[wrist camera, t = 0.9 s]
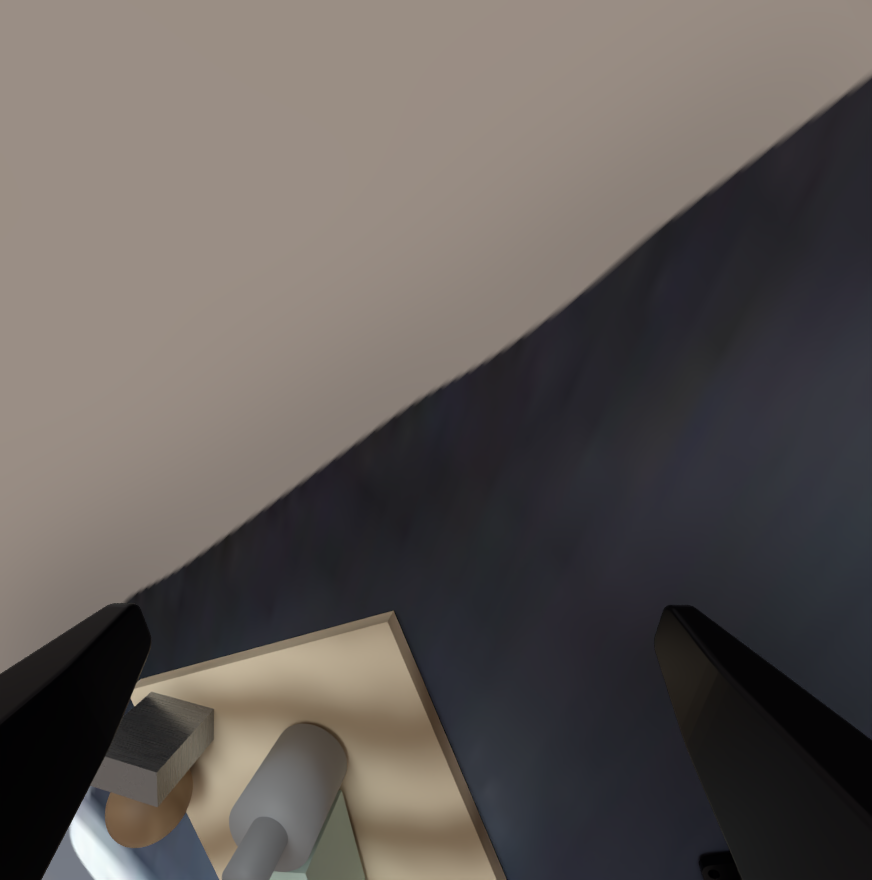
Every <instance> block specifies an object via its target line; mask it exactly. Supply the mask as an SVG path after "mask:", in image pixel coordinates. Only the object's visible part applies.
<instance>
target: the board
mask: <svg viewBox="0 0 872 880" xmlns="http://www.w3.org/2000/svg"><path fill="white" fill-rule="evenodd" d="M150 692H155V693H158V694H162V695H166V696H169V697H173V698H177V699H180V700H184V701H187V702H191V703H195V704H198V705H202V706H206V707H209V708H213V709H214V740H213V741H212V742H211V743H210V745H209V746H208V747H207V748H206V749H205V751H204V752H203V753H202V754H201V755H200V757H199V758H198V759H197V760H196V762H195V763H194V764H193V765H192V766H191V768H190V771H191V774H192V778H193V791H192V797H191V801H190V804H189V806H188V808H187V811H186V812H187V814H188V816H189V818H190V820H191V822H192V824H193V826H194V829H195V831H196V833H197V835H198V837H199V839H200V841H201V843H202V845H203V847H204V849H205V851H206V853H207V855H208V857H209V859H210V861H211V863H212V865H213V867H214V869H215V871H216V873H217V875H218V877H219V879H220V880H222V873H223V871H224V869H225V868H226V866H227V864H228V863H229V861H230V859H231V858H232V856H233V854H234V853H235V851H236V849H237V848H238V846H237V845H236V843H235V841H234V839H233V837H232V835H231V832H230V828H229V816H230V812H231V809H232V808H233V806H234V804H235V803H236V801H237V800H238V798H239V797H240V795H241V794H242V792H243V791H244V789H245V788H246V786H247V785H248V783H249V782H250V780H251V779H252V777H253V776H254V774H255V773H256V771H257V770H258V768H259V767H260V765H261V764H262V762H263V761H264V759H265V758H266V756H267V755H268V753H269V752H270V750H271V748H272V747H273V745H274V744H275V742H276V741H277V739H278V738H279V736H280V735H281V733H282V732H283V731H284V730H285V729H287V728H288V727H290V726H292V725H296V724H311V725H315V726H318V727H320V728H322V729H324V730H326V731H327V732H329V733H330V734H331V735H332V736H333V737H334V738H335V739H336V740H337V741H338V742H339V743H340V745H341V747H342V748H343V750H344V752H345V755H346V759H347V771H346V774H345V777H344V779H343V781H342V783H341V786H340V788H339V790H342V793H343V797H344V801H345V805H346V808H347V812H348V816H349V820H350V823H351V827H352V831H353V835H354V838H355V842H356V846H357V850H358V853H359V857H360V861H361V865H362V868H363V872H364V876H365V880H507V879H506V877H505V874H504V872H503V870H502V867H501V865H500V863H499V860H498V858H497V855H496V853H495V851H494V848H493V846H492V844H491V841H490V839H489V836H488V834H487V832H486V829H485V827H484V825H483V822H482V820H481V817H480V815H479V813H478V810H477V808H476V805H475V803H474V801H473V798H472V796H471V794H470V791H469V789H468V786H467V784H466V782H465V779H464V777H463V775H462V772H461V770H460V767H459V765H458V763H457V760H456V758H455V756H454V753H453V751H452V748H451V746H450V744H449V741H448V739H447V737H446V734H445V732H444V729H443V727H442V725H441V722H440V720H439V717H438V715H437V713H436V710H435V708H434V706H433V703H432V701H431V698H430V696H429V694H428V691H427V689H426V687H425V684H424V682H423V679H422V677H421V675H420V672H419V670H418V668H417V665H416V663H415V660H414V658H413V656H412V653H411V651H410V648H409V646H408V644H407V641H406V639H405V637H404V634H403V632H402V629H401V627H400V625H399V622H398V620H397V618H396V615H395V613H394V611H390V612H387V613H383V614H379V615H376V616H372V617H368V618H364V619H361V620H357V621H353V622H350V623H346V624H342V625H339V626H335V627H331V628H327V629H324V630H320V631H316V632H313V633H309V634H305V635H302V636H298V637H294V638H291V639H287V640H283V641H279V642H276V643H272V644H268V645H265V646H261V647H257V648H254V649H250V650H246V651H243V652H239V653H235V654H231V655H228V656H224V657H220V658H217V659H213V660H209V661H206V662H202V663H198V664H195V665H191V666H187V667H183V668H180V669H176V670H172V671H169V672H165V673H161V674H158V675H154V676H150V677H147V678H143V679H140V680H139V681H138V682H137V683H136V686H135V688H134V691H133V693H132V696H131V700H132V702H133V704H134V706H136V705H137V704H138V703H139V702H140V701H141V700H142V699H144V698H145V697H146V696H147V695H148V694H149V693H150Z"/></svg>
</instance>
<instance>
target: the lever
mask: <svg viewBox="0 0 872 880" xmlns="http://www.w3.org/2000/svg"><path fill="white" fill-rule="evenodd" d="M346 771H347V759H346V755H345V752H344V750H343V748H342V747H341V745H340V743H339V742H338V741H337V740H336V739H335V738H334V737H333V736H332V735H331V734H330V733H329V732H327V731H326V730H324V729H322V728H320V727H318V726H315V725H311V724H296V725H292V726H290V727H288V728H287V729H285V730H284V731H283V732H282V733H281V735H280V736H279V738H278V739H277V741H276V742H275V744H274V745H273V747H272V748H271V750H270V752H269V753H268V755H267V756H266V758H265V759H264V761H263V762H262V764H261V765H260V767H259V768H258V770H257V771H256V773H255V774H254V776H253V777H252V779H251V780H250V782H249V783H248V785H247V786H246V788H245V789H244V791H243V792H242V794H241V795H240V797H239V798H238V800H237V801H236V803H235V804H234V806H233V808H232V809H231V812H230V816H229V828H230V832H231V835H232V837H233V839H234V841H235V843H236V845H237V846H238V848H237V849H236V851H235V853H234V854H233V856H232V858H231V859H230V861H229V863H228V864H227V866H226V868H225V869H224V871H223V873H222V880H365V876H364V872H363V868H362V865H361V861H360V857H359V853H358V850H357V846H356V842H355V838H354V835H353V831H352V827H351V823H350V820H349V816H348V812H347V808H346V805H345V801H344V797H343V793H342V790H339V788H340V786H341V783H342V781H343V779H344V777H345V774H346Z"/></svg>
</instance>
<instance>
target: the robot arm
mask: <svg viewBox="0 0 872 880" xmlns="http://www.w3.org/2000/svg"><path fill="white" fill-rule="evenodd" d="M654 647H655V652H656V655H657V658H658V662H659V665H660V668H661V671H662V674H663V677H664V680H665V684H666V687H667V690H668V693H669V696H670V699H671V702H672V706H673V709H674V712H675V715H676V718H677V721H678V724H679V728H680V731H681V734H682V736H683V739H684V742H685V745H686V748H687V750H688V753H689V755H690V758H691V760H692V763H693V765H694V767H695V770H696V772H697V774H698V777H699V779H700V781H701V784H702V786H703V788H704V791H705V793H706V795H707V798H708V800H709V803H710V805H711V807H712V810H713V812H714V814H715V817H716V819H717V821H718V824H719V826H720V828H721V831H722V833H723V835H724V838H725V840H726V842H727V845H728V847H729V849H730V852H731V854H725V855H715V856H706V857H703V858H702V859H701V860H700V862H699V865H700V869H701V872H702V875H703V878H704V880H872V740H871V739H870V738H868V737H867V736H866V735H864V734H863V733H862V732H860V731H859V730H858V729H856V728H855V727H854V726H852V725H851V724H850V723H848V722H847V721H846V720H844V719H843V718H842V717H840V716H839V715H838V714H836V713H835V712H834V711H832V710H831V709H830V708H828V707H827V706H826V705H824V704H823V703H822V702H820V701H819V700H818V699H816V698H815V697H814V696H812V695H811V694H810V693H808V692H807V691H806V690H804V689H803V688H802V687H800V686H799V685H798V684H796V683H795V682H794V681H792V680H791V679H790V678H788V677H787V676H786V675H784V674H783V673H782V672H780V671H779V670H778V669H776V668H775V667H774V666H772V665H771V664H770V663H768V662H767V661H766V660H764V659H763V658H762V657H760V656H759V655H758V654H756V653H755V652H754V651H752V650H751V649H750V648H748V647H747V646H746V645H744V644H743V643H742V642H740V641H739V640H738V639H736V638H735V637H734V636H732V635H731V634H730V633H728V632H727V631H726V630H724V629H723V628H722V627H720V626H719V625H718V624H716V623H715V622H714V621H712V620H711V619H710V618H708V617H707V616H706V615H704V614H703V613H702V612H700V611H699V610H698V609H696V608H695V607H693V606H690V605H668V606H666V607H665V608H664V610H663V613H662V616H661V619H660V622H659V625H658V628H657V631H656V634H655V638H654ZM150 648H151V635H150V632H149V629H148V627H147V624H146V622H145V619H144V616H143V614H142V611H141V609H140V607H139V606H138V605H136V604H133V603H114V604H110V605H107V606H106V607H104V608H102V609H101V610H99V611H98V612H96V613H94V614H93V615H92V616H90V617H88V618H87V619H85V620H84V621H82V622H80V623H79V624H77V625H76V626H74V627H73V628H71V629H69V630H68V631H66V632H65V633H63V634H62V635H60V636H59V637H57V638H56V639H54V640H52V641H51V642H49V643H48V644H46V645H44V646H43V647H41V648H40V649H38V650H37V651H35V652H34V653H32V654H30V655H29V656H27V657H26V658H24V659H23V660H21V661H20V662H18V663H16V664H15V665H13V666H12V667H10V668H9V669H7V670H5V671H4V672H2V673H1V674H0V880H42V878H43V876H44V874H45V872H46V870H47V868H48V866H49V864H50V862H51V860H52V858H53V856H54V854H55V853H56V851H57V849H58V846H59V845H60V843H61V841H62V839H63V837H64V835H65V833H66V831H67V829H68V827H69V826H70V824H71V822H72V820H73V818H74V816H75V814H76V812H77V810H78V808H79V806H80V804H81V802H82V800H83V799H84V797H85V795H86V793H87V791H88V789H89V787H90V785H91V783H92V781H93V779H94V777H95V775H96V773H97V772H98V770H99V768H100V766H101V764H102V762H103V760H104V758H105V756H106V754H107V752H108V750H109V748H110V746H111V743H112V741H113V739H114V737H115V734H116V732H117V730H118V727H119V725H120V722H121V720H122V718H123V715H124V713H125V710H126V708H127V705H128V703H129V700H130V698H131V696H132V693H133V691H134V688H135V686H136V683H137V681H138V679H139V676H140V674H141V671H142V669H143V666H144V664H145V661H146V659H147V657H148V654H149V651H150Z"/></svg>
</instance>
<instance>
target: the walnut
mask: <svg viewBox="0 0 872 880" xmlns="http://www.w3.org/2000/svg"><path fill="white" fill-rule="evenodd" d="M192 791H193V778H192V774H191V771H190V769H189V770H188V771H187V772H186V774H185V775H184V776H183V777H182V778H181V780H180V781H179V782H178V783H177V785H176V786H175V787H174V788H173V789H172V791H171V792H170V793H169V794H168V795H167V797H166V798H165V799H164V800H163V801H162V803H161V804H160V805H159V806H158V807H155V806H152V805H149V804H146V803H143V802H139V801H136V800H133V799H130V798H127V797H124V796H121V795H118V794H115V793H112V792H111V793H110V795H109V798H108V801H107V804H106V810H105V822H106V827H107V830H108V832H109V834H110V836H111V837H112V838H113V839H114V840H115V841H116V842H117V843H119V844H120V845H122V846H125V847H130V848H140V847H145V846H148V845H151V844H153V843H156V842H157V841H159V840H161V839H162V838H164V837H165V836H166V835H168V834H169V833H170V832H171V831H172V830H173V829H174V828H175V827H176V826H177V824H178V823H179V822H180V820H181V819H182V818H183V816H184V814H185V812H186V811H187V808H188V806H189V804H190V801H191V797H192Z"/></svg>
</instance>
